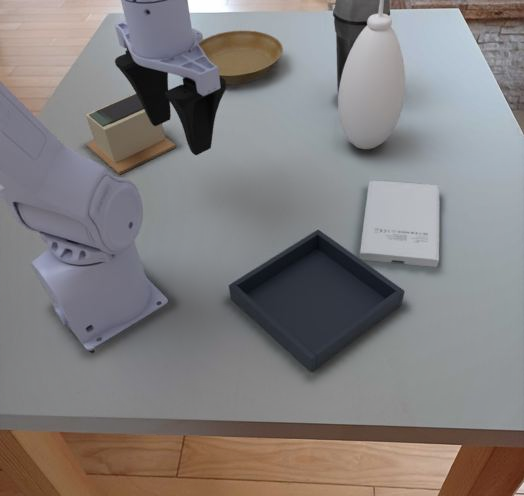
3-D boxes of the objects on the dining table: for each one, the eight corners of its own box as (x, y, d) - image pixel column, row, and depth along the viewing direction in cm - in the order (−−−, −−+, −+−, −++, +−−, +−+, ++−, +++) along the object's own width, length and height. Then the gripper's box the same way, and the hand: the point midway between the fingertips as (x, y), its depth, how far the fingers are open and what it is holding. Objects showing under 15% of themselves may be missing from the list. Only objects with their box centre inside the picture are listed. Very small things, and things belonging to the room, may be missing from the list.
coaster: (119, 175, 68) (118, 172, 68) (86, 146, 72) (85, 144, 72) (176, 147, 71) (175, 144, 71) (141, 121, 75) (141, 119, 75)
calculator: (115, 163, 69) (103, 128, 65) (96, 147, 71) (84, 113, 67) (165, 139, 72) (157, 104, 68) (146, 125, 74) (137, 90, 70)
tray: (311, 375, 48) (311, 359, 46) (230, 301, 54) (228, 285, 52) (401, 307, 52) (405, 290, 50) (317, 246, 58) (318, 229, 56)
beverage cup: (388, 106, 74) (413, -67, 58) (342, 118, 73) (355, -55, 57) (364, 83, 78) (381, -85, 62) (320, 95, 77) (325, -73, 61)
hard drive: (437, 196, 62) (436, 270, 55) (367, 191, 63) (358, 262, 56) (440, 185, 61) (440, 259, 54) (369, 179, 62) (359, 251, 55)
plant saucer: (227, 102, 77) (226, 85, 75) (173, 68, 84) (170, 51, 82) (302, 68, 82) (302, 50, 80) (245, 38, 89) (243, 22, 87)
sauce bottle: (327, 135, 71) (335, -19, 56) (381, 124, 72) (403, -30, 57) (347, 167, 66) (361, 10, 52) (404, 156, 67) (434, -3, 53)
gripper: (241, -2, 43) (252, 148, 54) (146, -43, 50) (173, 97, 61) (170, 26, 40) (197, 177, 51) (81, -21, 47) (121, 120, 58)
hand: (180, 135), depth 56 cm, fingers open, 7 cm apart
